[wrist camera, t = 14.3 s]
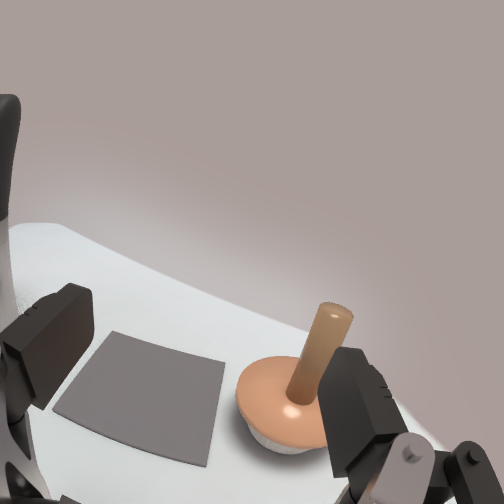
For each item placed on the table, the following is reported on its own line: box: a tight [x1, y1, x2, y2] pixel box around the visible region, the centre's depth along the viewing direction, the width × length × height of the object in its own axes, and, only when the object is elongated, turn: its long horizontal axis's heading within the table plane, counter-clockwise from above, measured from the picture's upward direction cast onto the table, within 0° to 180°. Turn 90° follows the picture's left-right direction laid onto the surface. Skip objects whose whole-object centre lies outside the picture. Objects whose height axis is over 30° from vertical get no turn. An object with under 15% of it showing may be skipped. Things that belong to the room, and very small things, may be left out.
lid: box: [236, 302, 354, 449], centre depth 26 cm, size 14×14×12 cm
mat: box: [52, 331, 225, 467], centre depth 30 cm, size 18×18×1 cm
